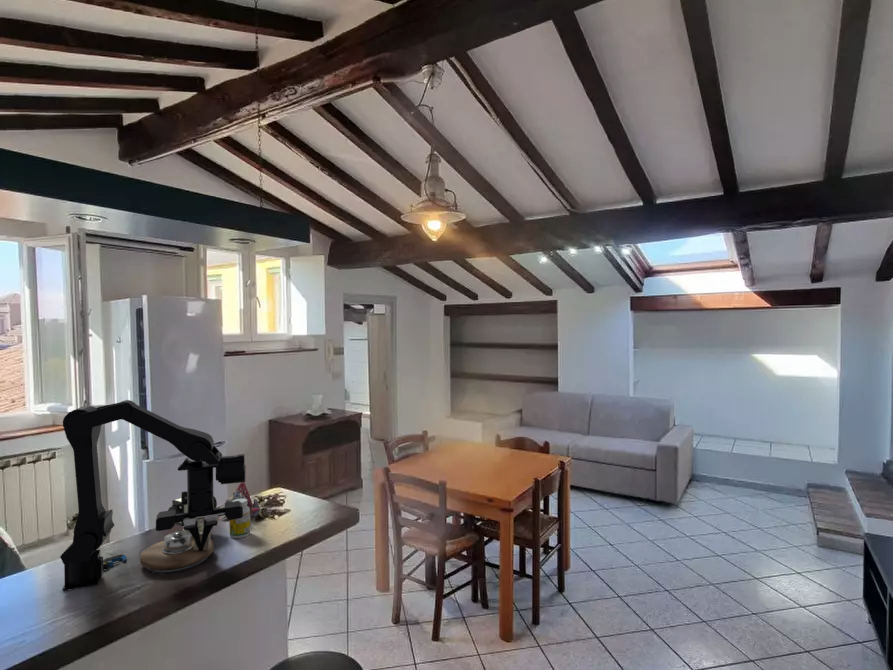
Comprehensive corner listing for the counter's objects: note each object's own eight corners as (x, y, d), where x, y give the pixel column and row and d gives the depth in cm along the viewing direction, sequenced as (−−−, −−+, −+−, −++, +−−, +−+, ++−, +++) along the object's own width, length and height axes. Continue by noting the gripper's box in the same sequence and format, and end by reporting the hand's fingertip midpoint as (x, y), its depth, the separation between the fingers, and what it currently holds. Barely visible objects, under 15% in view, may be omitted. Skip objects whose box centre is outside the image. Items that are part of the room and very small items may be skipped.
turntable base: (142, 578, 117) (142, 573, 117) (148, 554, 130) (147, 550, 130) (209, 566, 123) (209, 561, 123) (208, 544, 136) (208, 540, 136)
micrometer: (123, 551, 129) (130, 556, 126) (123, 558, 129) (130, 564, 125) (66, 567, 120) (72, 573, 116) (66, 575, 120) (72, 582, 116)
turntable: (192, 570, 118) (192, 546, 118) (125, 569, 119) (124, 546, 119) (224, 541, 134) (224, 521, 134) (165, 540, 135) (164, 520, 135)
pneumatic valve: (217, 531, 145) (217, 489, 145) (177, 546, 135) (176, 500, 135) (206, 527, 148) (205, 486, 148) (165, 541, 138) (165, 497, 138)
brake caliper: (272, 507, 157) (250, 482, 151) (246, 538, 150) (221, 512, 145) (253, 499, 164) (231, 475, 159) (227, 528, 158) (203, 504, 152)
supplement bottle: (251, 536, 141) (250, 502, 141) (230, 540, 138) (229, 505, 138) (249, 529, 146) (249, 496, 146) (229, 533, 143) (228, 499, 143)
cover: (183, 555, 123) (183, 538, 123) (156, 554, 123) (156, 538, 123) (198, 543, 130) (198, 527, 130) (172, 543, 130) (172, 527, 130)
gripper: (239, 472, 135) (240, 531, 135) (158, 482, 127) (159, 545, 127) (242, 484, 125) (243, 547, 125) (155, 495, 116) (155, 563, 117)
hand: (201, 550), depth 123 cm, fingers closed
